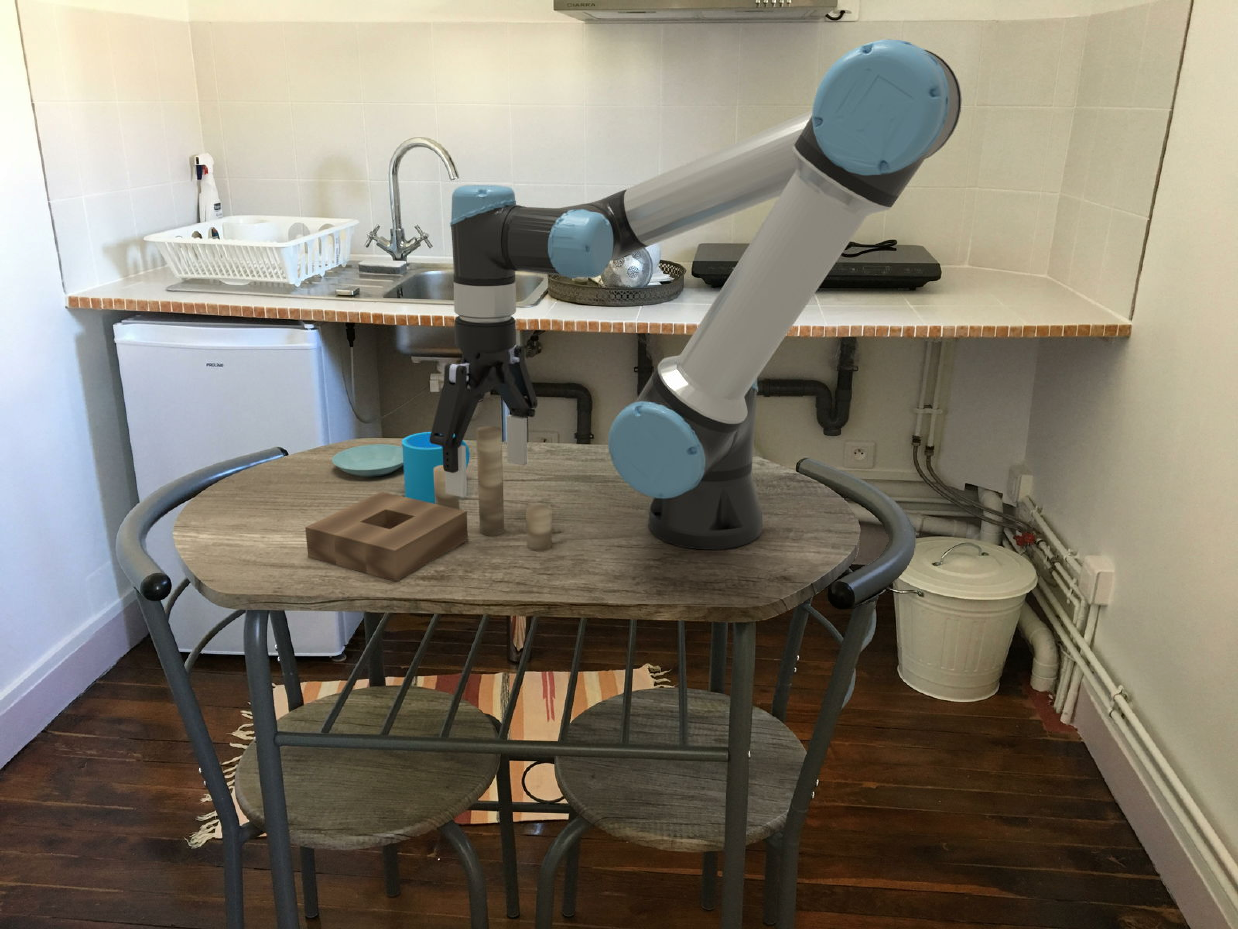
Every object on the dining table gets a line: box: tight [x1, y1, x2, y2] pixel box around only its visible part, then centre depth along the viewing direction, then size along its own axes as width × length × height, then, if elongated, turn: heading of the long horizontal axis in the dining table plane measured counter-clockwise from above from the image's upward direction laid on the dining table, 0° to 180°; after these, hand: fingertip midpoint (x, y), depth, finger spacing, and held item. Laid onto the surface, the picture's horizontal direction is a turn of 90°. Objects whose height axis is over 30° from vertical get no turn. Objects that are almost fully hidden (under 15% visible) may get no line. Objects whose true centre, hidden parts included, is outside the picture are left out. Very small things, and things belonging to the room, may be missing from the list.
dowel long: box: [475, 425, 505, 537], centre depth 131 cm, size 3×3×14 cm
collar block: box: [304, 491, 469, 582], centre depth 127 cm, size 14×14×4 cm
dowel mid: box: [434, 465, 460, 510], centre depth 136 cm, size 3×3×7 cm
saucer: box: [331, 443, 404, 478], centre depth 155 cm, size 12×12×2 cm
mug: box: [401, 431, 471, 504], centre depth 146 cm, size 12×8×8 cm
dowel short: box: [525, 504, 553, 552], centre depth 128 cm, size 3×3×5 cm
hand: (488, 478), depth 131 cm, fingers open, 13 cm apart
